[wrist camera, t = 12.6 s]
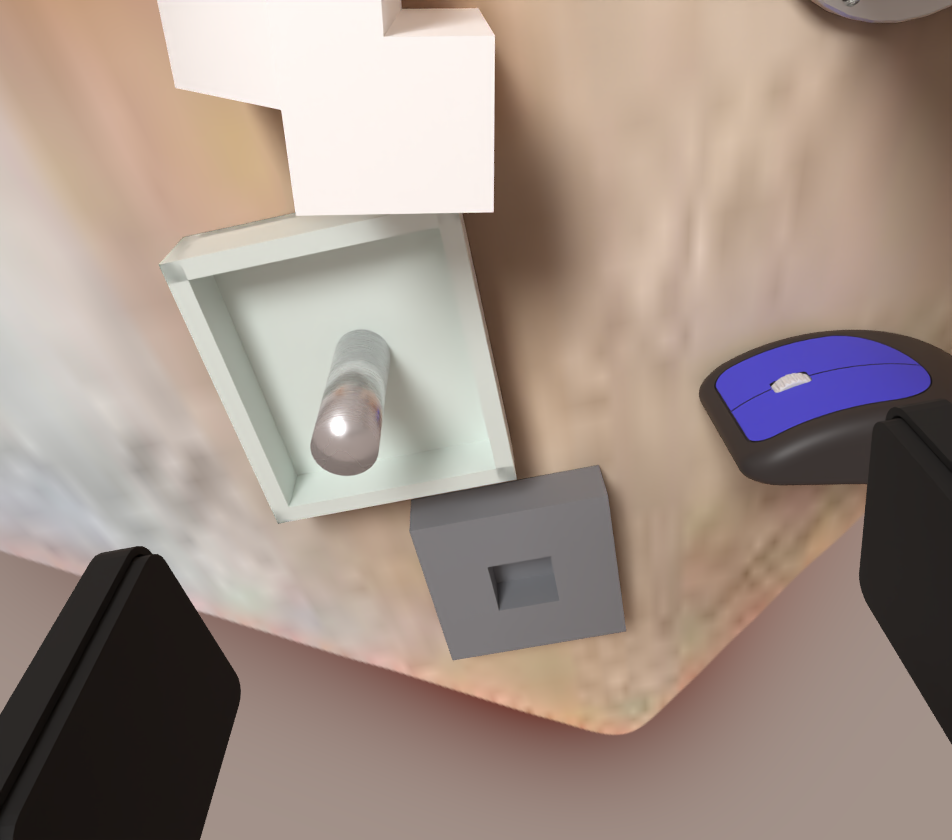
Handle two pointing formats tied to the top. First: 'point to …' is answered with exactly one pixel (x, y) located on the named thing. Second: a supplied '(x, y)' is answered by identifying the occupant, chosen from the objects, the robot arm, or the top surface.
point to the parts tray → (314, 341)
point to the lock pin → (352, 405)
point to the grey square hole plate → (520, 562)
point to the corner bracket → (354, 95)
